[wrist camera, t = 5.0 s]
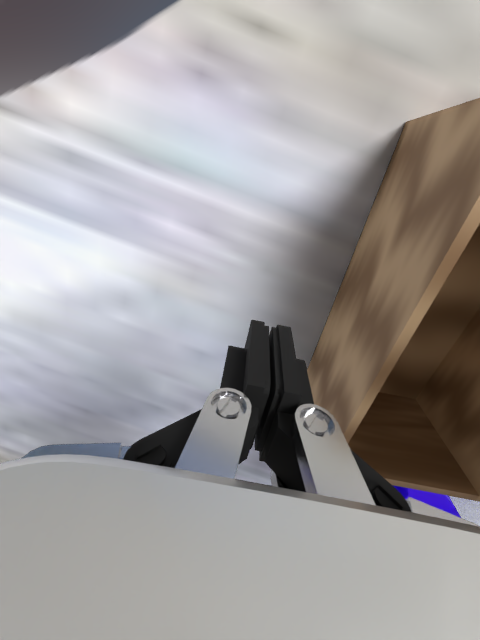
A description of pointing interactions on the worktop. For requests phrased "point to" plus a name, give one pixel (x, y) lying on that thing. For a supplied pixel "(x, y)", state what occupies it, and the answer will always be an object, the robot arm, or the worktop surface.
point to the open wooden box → (413, 316)
